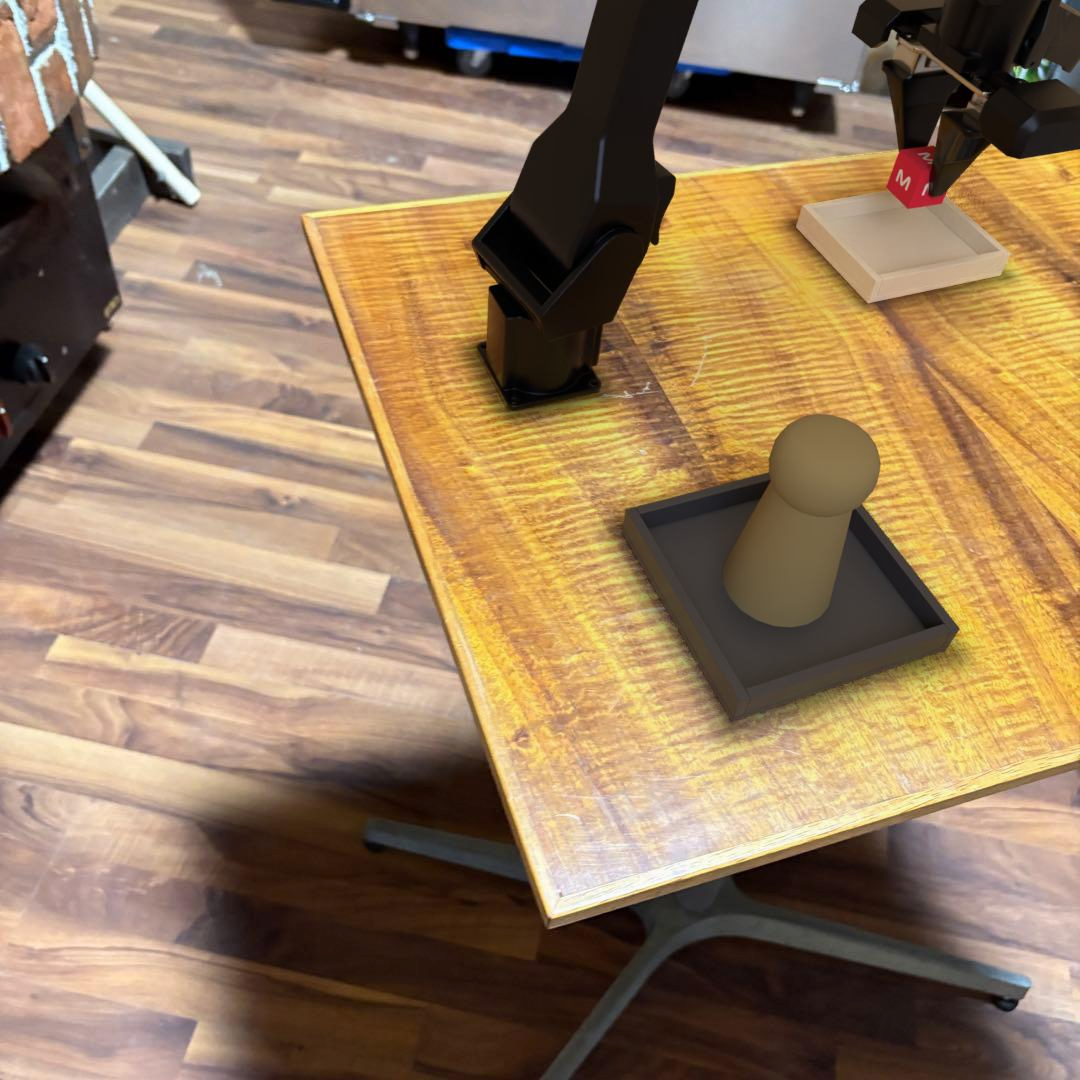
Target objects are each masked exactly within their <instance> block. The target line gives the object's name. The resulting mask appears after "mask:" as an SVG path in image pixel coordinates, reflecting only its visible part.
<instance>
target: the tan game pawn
mask: <svg viewBox="0 0 1080 1080" xmlns="http://www.w3.org/2000/svg"><path fill="white" fill-rule="evenodd" d="M880 457H881V456H880V453H879V450H878V447H877V444H876V443H875V441H874V439H873V438H872V436H871V435H870V434H869V433H868V432H867V431H866V430H865V429H864V428H862V427H861V426H860V425H858V424H856V423H855V422H853V421H851V420H849V419H847V418H844V417H840V416H837V415H834V414H826V413H824V414H823V413H816V414H815V413H814V414H808V415H804V416H802V417H800V418H797V419H795V420H794V421H791V422H790V423H788V424H786V426H785V427H784V428H783V429H782V430H781V431H780V432H779V434H778V435H777V436H776V438H775V439H774V442H773V444H772V447H771V451H770V454H769V458H768V472H769V473H770V480H771V482H770V483H769V485H768V487H767V489H766V490H765V492H764V494H763V496H762V498H761V499H760V501H759V503H758V505H757V506H756V508H755V510H754V512H753V514H752V515H751V517H750V519H749V521H748V522H747V524H746V526H745V528H744V529H743V531H742V533H741V535H740V537H739V538H738V540H737V542H736V544H735V545H734V547H733V549H732V551H731V553H730V554H729V556H728V558H727V560H726V563H725V566H724V569H723V583H724V587H725V589H726V591H727V593H728V595H729V597H730V599H731V600H732V601H733V602H734V603H735V604H736V605H737V606H738V607H739V609H740V610H741V611H743V612H744V613H746V614H748V615H749V616H751V617H752V618H754V619H755V620H757V621H760V622H763V623H766V624H769V625H772V626H780V627H796V626H801V625H806V624H809V623H811V622H812V621H814V620H816V619H818V618H820V617H821V616H822V614H823V613H824V612H825V611H826V609H827V608H828V607H829V603H830V599H831V595H832V591H833V587H834V583H835V579H836V575H837V571H838V567H839V563H840V559H841V555H842V551H843V547H844V543H845V539H846V535H847V531H848V527H849V522H850V518H851V514H852V510H854V509H856V508H858V507H859V506H860V505H861V504H862V505H863V503H864V502H865V501H866V500H868V498H869V497H870V495H872V493H873V492H874V490H875V488H876V487H877V485H878V481H879V478H880V477H879V476H880V472H881V464H882V462H881V458H880Z"/></svg>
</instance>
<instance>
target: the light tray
mask: <svg viewBox="0 0 1080 1080" xmlns="http://www.w3.org/2000/svg"><path fill="white" fill-rule="evenodd" d="M795 228H796V229H797V231H799V233H801V235H802V236H803V237H804V238H805V239H806V240H807V241H808V242H809V243H810V244H811V245H812V246H813V247H814V248H815V249H816V250H817V251H818V253H819V254H820V255H821V256H822V257H823V258H824V259H825V260H826V261H827V262H828V263H829V264H830V265H831V266H832V267H833V268H834V270H836V272H837V273H838V274H839V275H840V276H841V277H842V278H843V279H844V280H845V281H846V283H848V285H850V286H851V288H852V289H853V290H854V291H855V292H856V293H857V294H858V296H860V297H861V298H862V299H863V300H864V301H865V303H867V304H872V303H876V302H881V301H886V300H891V299H896V298H900V297H905V296H909V295H915V294H920V293H924V292H928V291H929V292H930V291H933V290H938V289H944V288H948V287H952V286H953V287H954V286H957V285H961V284H968V283H971V282H976V281H981V280H985V279H991V278H996V277H1000V276H1002V274H1003V271H1004V269H1005V267H1006V266H1007V263H1008V261H1009V259H1010V257H1011V255H1012V253H1011V252H1010V251H1009V250H1008V249H1007V248H1006V247H1005V246H1004V245H1002V244H1001V243H1000V242H999V241H998V240H997V239H995V238H994V237H993V236H992V235H991V234H990V233H989V232H987V231H986V230H985V229H984V228H983V227H982V226H981V225H980V224H979V223H977V222H976V221H975V220H974V218H973V219H972V217H970V215H968V214H967V213H966V212H965V211H964V210H962V209H961V208H960V207H959V206H958V205H957V204H955V203H954V202H953V201H952V199H950V198H949V197H948V196H947V195H945V198H944V200H943V202H942V204H938V205H932V206H925V207H919V208H912V209H907V208H906V207H905V206H904V205H903V204H902V203H901V202H900V201H899V200H898V199H897V198H896V197H895V196H894V195H893V194H892V193H891V192H890V191H889V190H888V189H887V190H880V191H876V192H870V193H863V194H858V195H853V196H846V197H840V198H836V199H835V198H834V199H830V200H824V201H818V202H812V203H806V204H802V205H801V209H800V211H799V215H798V218H797V222H796V226H795Z"/></svg>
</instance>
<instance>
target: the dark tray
mask: <svg viewBox="0 0 1080 1080" xmlns="http://www.w3.org/2000/svg"><path fill="white" fill-rule="evenodd" d="M770 482H771V480H770V473H769V471H768V472H765V473H759V474H757V475H752V476H750V477H745V478H741V479H737V480H733V481H729V482H726V483H722V484H717V485H714V486H710V487H706V488H703V489H700V490H695V491H690V492H687V493H683V494H679V495H676V496H675V495H674V496H671V497H669V498H664V499H660V500H656V501H651V502H649V503H645V504H641V505H636V506H631V507H629V508H625V512H624V516H623V521H622V527H621V534H622V535H623V537H624V539H625V541H626V542H627V544H628V546H629V548H630V549H631V551H632V553H633V555H634V557H635V558H636V560H637V562H638V563H639V565H640V567H641V569H642V571H643V572H644V574H645V576H646V577H647V579H648V580H649V582H650V585H651V586H652V588H653V589H654V591H655V592H656V594H657V596H658V598H659V600H660V601H661V603H662V605H663V607H664V608H665V610H666V611H667V613H668V615H669V617H670V619H671V621H672V622H673V624H674V625H675V627H676V629H677V630H678V632H679V634H680V636H681V638H682V639H683V641H684V643H685V644H686V647H687V648H688V649H689V651H690V653H691V655H692V656H693V658H694V660H695V661H696V663H697V665H698V667H699V669H700V670H701V673H702V674H703V675H704V677H705V679H706V681H707V683H708V684H709V686H710V688H711V689H712V691H713V693H714V695H715V696H716V698H717V700H718V701H719V703H720V705H721V707H722V708H723V710H724V712H725V714H726V715H727V717H728V719H729V720H730V722H731V723H734V722H736V721H737V722H738V721H739V720H743V719H745V718H749V717H751V716H754V715H757V714H760V713H763V712H766V711H769V710H772V709H775V708H778V707H781V706H784V705H787V704H790V703H792V702H796V701H800V700H802V699H805V698H808V697H811V696H814V695H816V694H820V693H823V692H826V691H828V690H832V689H835V688H837V687H841V686H844V685H847V684H849V683H853V682H855V681H859V680H862V679H864V678H868V677H870V676H873V675H876V674H879V673H882V672H885V671H888V670H891V669H894V668H898V667H900V666H903V665H905V664H909V663H912V662H915V661H918V660H921V659H924V658H926V657H927V658H928V657H929V656H932V655H935V654H938V653H941V652H944V651H947V649H948V648H949V646H950V645H951V643H952V642H953V640H954V639H955V637H956V636H957V635H958V633H959V632H960V629H961V628H960V627H959V626H958V624H957V623H956V622H955V621H954V618H952V616H950V614H949V613H948V612H947V610H946V609H945V608H944V606H943V605H942V604H941V603H940V601H939V600H938V599H937V598H936V596H935V595H934V594H933V593H932V591H931V590H930V589H929V588H928V586H927V585H926V583H925V582H924V581H923V579H921V577H920V576H919V575H918V574H917V572H916V571H915V569H914V568H913V567H912V566H911V564H910V563H909V562H908V561H907V559H906V558H905V556H903V554H902V553H901V552H900V551H899V549H898V548H897V547H896V545H895V544H894V543H893V542H892V540H891V539H890V538H889V536H888V535H887V534H886V533H885V532H884V530H883V529H882V528H881V526H880V525H879V524H878V522H877V521H876V520H875V519H874V518H873V516H872V515H871V513H870V512H869V511H868V510H867V509H866V507H865V506H864V504H863V503H862V504H861V505H860V506H859V507H858V508H856V509H854V510H852V514H851V518H850V522H849V527H848V531H847V535H846V539H845V543H844V547H843V551H842V555H841V559H840V563H839V567H838V571H837V575H836V579H835V583H834V587H833V591H832V595H831V599H830V603H829V607H828V608H827V609H826V611H825V612H824V613H823V614H822V616H821V617H820V618H818V619H816V620H814V621H812V622H811V623H809V624H806V625H801V626H796V627H780V626H772V625H769V624H766V623H763V622H760V621H757V620H755V619H754V618H752V617H751V616H749V615H748V614H746V613H744V612H743V611H741V610H740V609H739V607H738V606H737V605H736V604H735V603H734V602H733V601H732V600H731V599H730V597H729V595H728V593H727V591H726V589H725V587H724V583H723V569H724V566H725V563H726V560H727V558H728V556H729V554H730V553H731V551H732V549H733V547H734V545H735V544H736V542H737V540H738V538H739V537H740V535H741V533H742V531H743V529H744V528H745V526H746V524H747V522H748V521H749V519H750V517H751V515H752V514H753V512H754V510H755V508H756V506H757V505H758V503H759V501H760V499H761V498H762V496H763V494H764V492H765V490H766V489H767V487H768V485H769V483H770Z"/></svg>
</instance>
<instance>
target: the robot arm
mask: <svg viewBox="0 0 1080 1080" xmlns="http://www.w3.org/2000/svg"><path fill="white" fill-rule="evenodd" d="M699 1H700V0H596V2H595V6H594V10H593V14H592V18H591V20H590V25H589V29H588V32H587V35H586V39H585V42H584V46H583V51H582V54H581V57H580V61H579V64H578V68H577V72H576V75H575V80H574V82H573V87H572V90H571V92H570V93H571V94H570V97H569V100H568V103H567V105H566V107H565V109H564V110H563V111H562V112H561V113H560V114H559V115H558V116H557V117H556V118H555V119H554V120H553V121H552V122H551V123H550V124H549V125H548V126H547V127H546V128H545V129H544V130H543V131H542V132H541V133H540V134H539V135H538V136H537V137H536V138H535V139H534V140H533V142H532V143H531V146H530V148H529V151H528V153H527V155H526V157H525V161H524V163H523V166H522V168H521V170H520V172H519V175H518V177H517V180H516V183H515V185H514V188H513V190H512V191H511V193H510V194H509V195H508V196H507V198H505V199H504V201H503V202H502V203H501V204H500V205H499V207H498V208H497V210H495V212H494V213H493V214H492V215H491V217H489V219H488V220H487V221H486V222H485V224H484V225H483V226H482V227H481V229H480V230H479V231H478V232H477V234H476V235H475V236H474V237H473V238H472V240H471V242H470V245H471V248H472V251H473V253H474V256H475V258H476V260H477V263H478V265H479V267H480V268H481V269H482V270H484V271H486V272H487V273H488V274H489V276H490V277H491V278H492V279H493V280H494V281H495V282H496V284H490V285H489V286H488V290H487V293H488V294H487V321H486V341H481V342H479V343H478V344H477V345H476V353H477V355H478V358H479V359H480V361H481V363H482V365H483V367H484V369H485V370H486V372H487V374H488V376H489V378H490V380H491V382H492V384H493V385H494V387H495V389H496V391H497V392H498V394H499V396H500V398H501V400H502V402H503V404H504V406H505V407H506V408H507V409H508V410H509V411H511V412H512V411H513V412H516V411H517V412H518V411H521V410H526V409H530V408H535V407H539V406H543V405H544V406H545V405H548V404H552V403H557V402H562V401H567V400H573V399H576V398H580V397H584V396H590V395H593V394H598V393H600V392H601V389H602V381H601V380H600V378H599V377H598V375H597V373H596V372H595V370H594V369H593V367H596V366H598V364H599V361H600V353H601V346H602V339H603V332H604V326H605V325H608V324H609V323H612V322H613V321H614V320H615V317H616V316H617V313H618V311H619V310H620V308H621V307H620V306H621V305H622V303H623V300H624V299H625V296H626V295H627V292H628V290H629V288H630V286H631V284H632V282H633V280H634V278H635V276H636V273H637V271H638V269H639V268H640V267H641V265H642V263H643V261H644V259H645V257H646V255H647V253H648V251H649V247H650V245H651V244H652V245H653V246H658V245H659V243H660V230H661V229H660V228H661V227H662V226H661V225H662V222H663V219H664V216H665V214H666V212H667V210H668V208H669V206H670V204H671V202H672V200H673V198H674V196H675V192H676V186H677V185H676V184H677V177H676V176H675V175H674V174H673V173H672V172H671V171H669V170H668V169H667V168H666V167H665V166H664V165H663V164H661V163H660V162H659V161H658V160H656V156H655V144H654V140H655V139H654V137H655V134H656V129H657V125H658V123H659V120H660V117H661V114H662V111H663V107H664V105H665V102H666V99H667V96H668V94H669V90H670V88H671V84H672V82H673V78H674V75H675V72H676V70H677V66H678V63H679V61H680V57H681V55H682V52H683V48H684V46H685V43H686V39H687V36H688V34H689V31H690V29H691V25H692V22H693V19H694V16H695V13H696V10H697V8H698V4H699ZM892 31H894V32H895V33H896V35H895V37H894V40H896V41H897V43H896V45H895V48H894V49H895V50H894V52H893V55H892V58H890V59H885V60H883V61H881V66H880V70H881V71H882V72H883V73H884V74H885V76H886V81H887V87H888V91H889V97H890V103H891V107H892V112H893V113H892V114H893V119H894V124H895V125H894V126H895V133H896V134H895V135H896V143H897V150H898V152H899V150H903V149H910V148H918V147H925V146H929V145H930V143H931V140H932V137H933V135H934V132H935V130H936V127H937V125H938V128H937V129H938V130H937V135H936V141H935V145H934V146H935V151H934V156H933V162H932V167H931V173H930V179H929V191H928V194H929V196H930V197H932V198H933V197H939V196H942V195H943V194H944V193H945V192H946V191H947V190H949V189H950V188H951V187H952V186H953V185H954V184H955V183H956V182H957V180H958V179H960V177H961V176H962V175H963V174H964V173H965V172H966V170H967V169H968V168H969V167H970V166H971V165H972V164H973V163H974V162H975V160H976V159H977V158H978V157H980V155H981V154H982V153H983V152H985V150H987V148H989V147H990V146H991V145H992V146H993V147H994V148H996V149H997V150H999V152H1000V153H1002V154H1003V155H1005V156H1006V157H1009V158H1013V159H1016V160H1024V159H1030V158H1035V157H1036V158H1037V157H1042V156H1043V157H1044V156H1048V155H1054V154H1060V153H1066V152H1072V151H1079V150H1080V93H1079V92H1077V91H1075V90H1074V89H1072V87H1070V86H1069V85H1067V84H1066V83H1064V82H1063V81H1062V80H1060V79H1058V78H1051V79H1043V80H1036V81H1028V80H1026V79H1024V78H1020V77H1014V76H1013V75H1011V73H1012V72H1013V70H1014V68H1015V67H1016V68H1017V67H1020V68H1022V69H1024V70H1029V69H1038V68H1040V65H1041V63H1042V61H1043V59H1044V60H1045V61H1049V62H1050V63H1053V64H1056V65H1058V66H1060V67H1061V70H1062V71H1063V72H1065V73H1068V74H1071V73H1072V72H1073V71H1074V69H1075V68H1076V66H1077V65H1078V64H1079V62H1080V11H1079V10H1077V9H1075V8H1074V7H1072V6H1070V5H1069V4H1068V3H1066V2H1064V1H1063V0H864V1H862V3H860V4H859V6H858V9H857V12H856V16H855V18H854V22H853V26H852V28H851V34H852V35H853V36H854V37H856V38H857V39H859V40H860V41H861V42H862V43H863V44H865V45H866V46H868V47H869V48H870V49H877V48H880V47H881V46H883V45H885V44H886V43H887V42H888V41H889V38H890V35H891V33H892ZM961 84H963V85H964V86H965V87H967V88H968V89H969V90H970V91H972V92H973V94H972V97H971V100H968V102H967V105H966V107H964V108H957V109H956V108H955V109H950V110H949V109H948V110H944V108H945V106H946V104H947V101H948V99H949V98H950V96H951V95H952V94H953V93H954V92H955V90H957V89H958V88H959V87H960V85H961ZM938 123H939V124H938ZM947 192H948V191H947Z"/></svg>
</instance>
